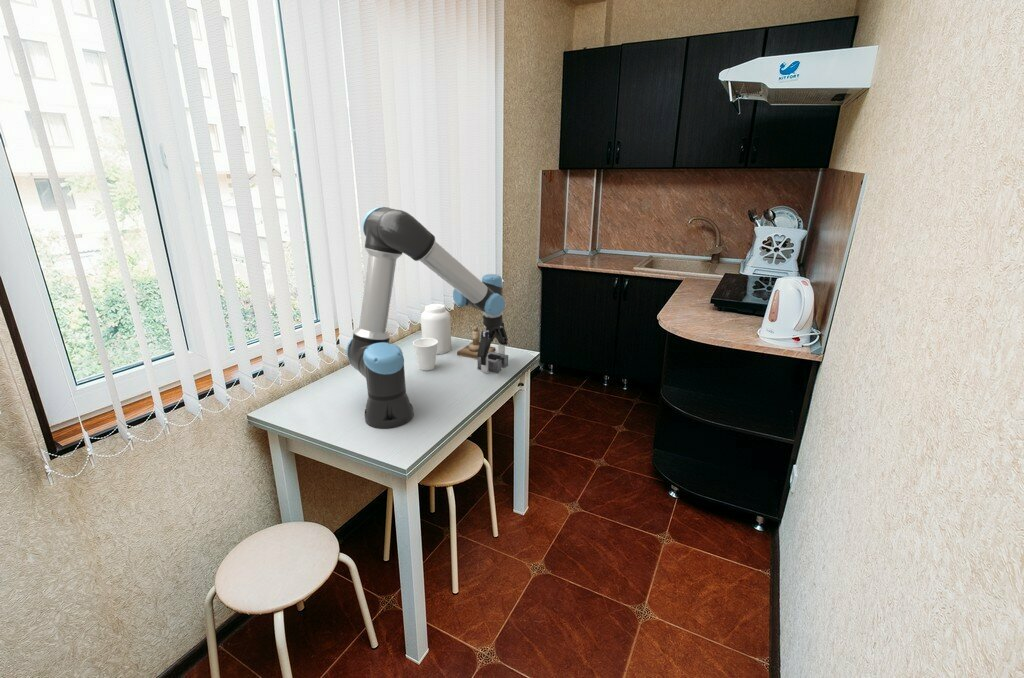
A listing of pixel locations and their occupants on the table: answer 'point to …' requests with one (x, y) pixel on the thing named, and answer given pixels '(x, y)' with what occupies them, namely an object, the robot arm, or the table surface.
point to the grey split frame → (495, 362)
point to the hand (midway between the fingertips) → (493, 365)
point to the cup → (425, 352)
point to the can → (437, 326)
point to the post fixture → (473, 346)
